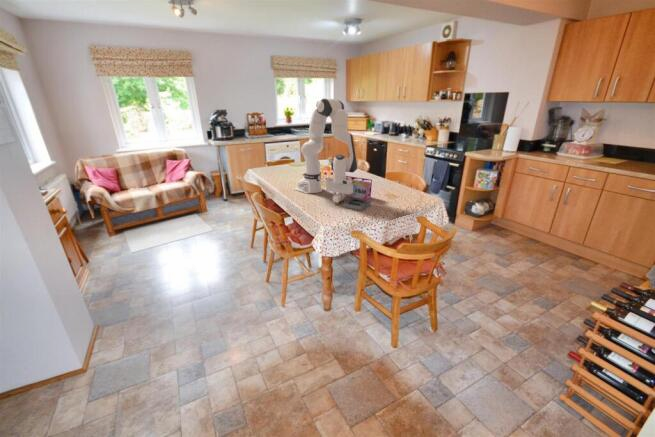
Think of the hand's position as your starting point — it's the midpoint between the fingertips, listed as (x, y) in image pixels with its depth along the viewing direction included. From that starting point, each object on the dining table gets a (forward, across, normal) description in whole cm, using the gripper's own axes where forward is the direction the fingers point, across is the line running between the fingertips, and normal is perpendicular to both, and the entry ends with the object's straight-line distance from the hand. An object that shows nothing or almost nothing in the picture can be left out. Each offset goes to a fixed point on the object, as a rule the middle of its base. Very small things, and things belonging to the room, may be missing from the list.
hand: (339, 198), depth 209 cm
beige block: (+3, 0, 0) cm, 3 cm away
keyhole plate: (+3, +14, 0) cm, 14 cm away
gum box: (+3, +4, +18) cm, 19 cm away
